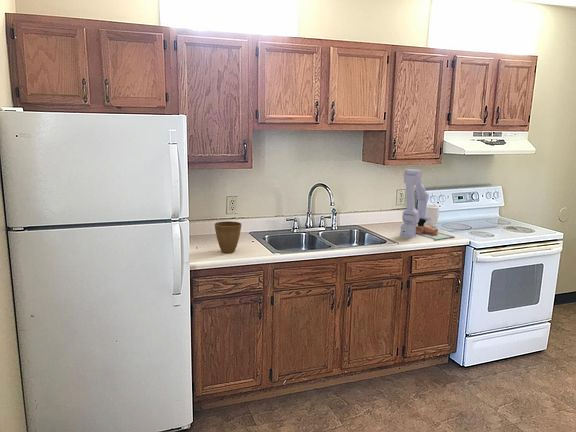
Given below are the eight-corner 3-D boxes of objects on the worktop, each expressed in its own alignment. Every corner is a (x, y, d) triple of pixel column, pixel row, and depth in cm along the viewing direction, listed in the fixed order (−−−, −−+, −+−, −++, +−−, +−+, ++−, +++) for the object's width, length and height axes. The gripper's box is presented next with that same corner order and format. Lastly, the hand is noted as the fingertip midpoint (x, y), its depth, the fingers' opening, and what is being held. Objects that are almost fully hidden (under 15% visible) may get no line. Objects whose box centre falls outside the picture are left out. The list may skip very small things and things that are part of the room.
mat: (435, 240, 306) (435, 239, 305) (402, 231, 330) (402, 230, 330) (454, 237, 315) (454, 236, 314) (421, 228, 339) (421, 227, 339)
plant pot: (245, 253, 268) (246, 225, 265) (220, 256, 260) (220, 227, 257) (234, 246, 280) (234, 219, 277) (210, 249, 273) (210, 222, 270)
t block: (428, 236, 314) (429, 230, 313) (415, 232, 324) (415, 226, 323) (441, 234, 320) (442, 228, 319) (428, 230, 330) (428, 225, 329)
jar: (438, 228, 341) (440, 207, 338) (423, 227, 342) (425, 206, 339) (436, 225, 351) (438, 205, 348) (421, 224, 353) (423, 204, 350)
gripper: (434, 211, 321) (432, 231, 324) (418, 207, 333) (416, 226, 336) (426, 211, 318) (425, 232, 320) (410, 208, 330) (409, 227, 332)
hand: (420, 229), depth 328 cm, fingers closed
